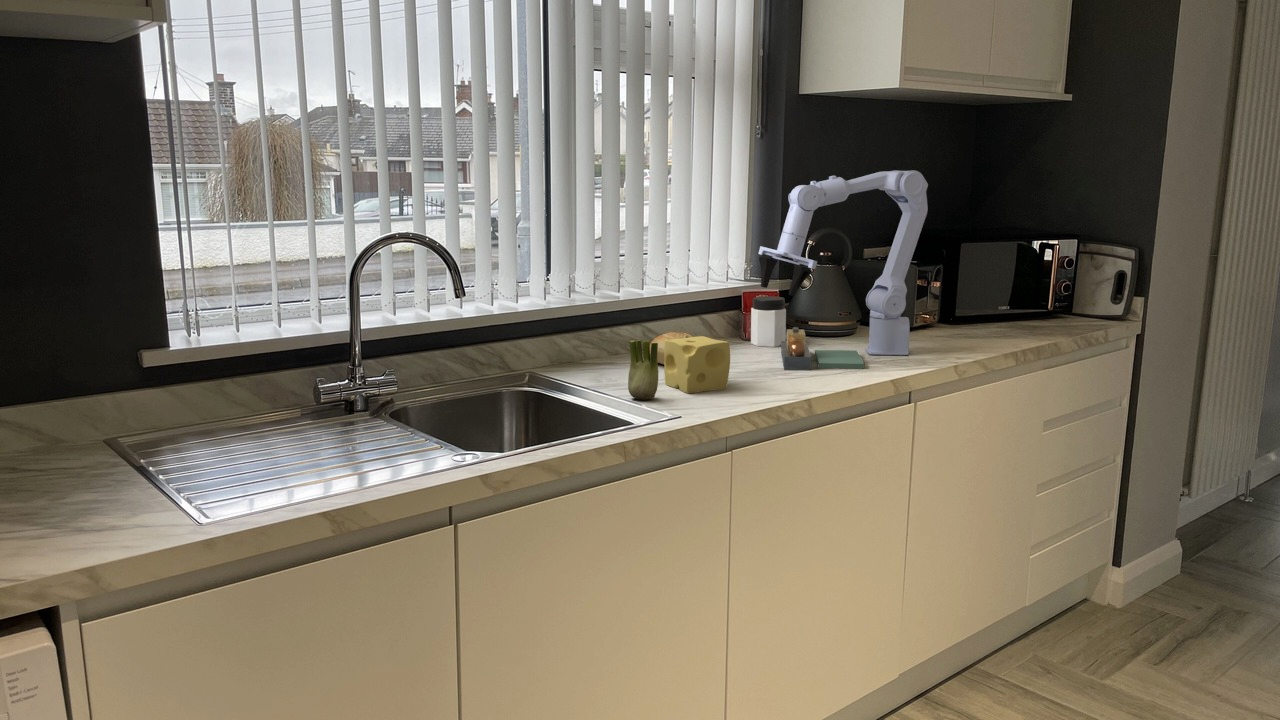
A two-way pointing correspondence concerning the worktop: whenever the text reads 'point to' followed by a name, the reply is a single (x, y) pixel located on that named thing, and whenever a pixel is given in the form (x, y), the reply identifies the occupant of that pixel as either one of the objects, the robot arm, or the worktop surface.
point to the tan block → (795, 337)
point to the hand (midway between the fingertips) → (777, 291)
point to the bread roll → (661, 343)
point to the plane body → (796, 356)
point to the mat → (839, 359)
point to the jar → (768, 321)
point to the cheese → (696, 364)
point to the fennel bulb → (643, 370)
